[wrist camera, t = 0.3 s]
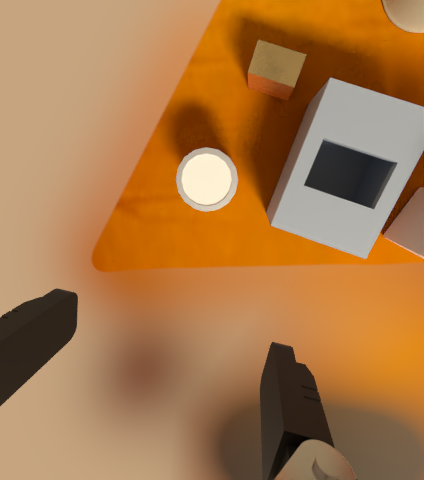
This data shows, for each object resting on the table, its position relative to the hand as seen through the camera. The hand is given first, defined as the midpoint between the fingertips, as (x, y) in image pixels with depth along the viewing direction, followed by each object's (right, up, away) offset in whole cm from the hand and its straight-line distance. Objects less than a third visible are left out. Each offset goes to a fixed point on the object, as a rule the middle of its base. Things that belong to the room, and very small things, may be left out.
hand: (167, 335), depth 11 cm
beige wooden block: (+9, +23, +21) cm, 32 cm away
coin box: (+16, +12, +23) cm, 30 cm away
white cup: (+2, +12, +25) cm, 28 cm away
